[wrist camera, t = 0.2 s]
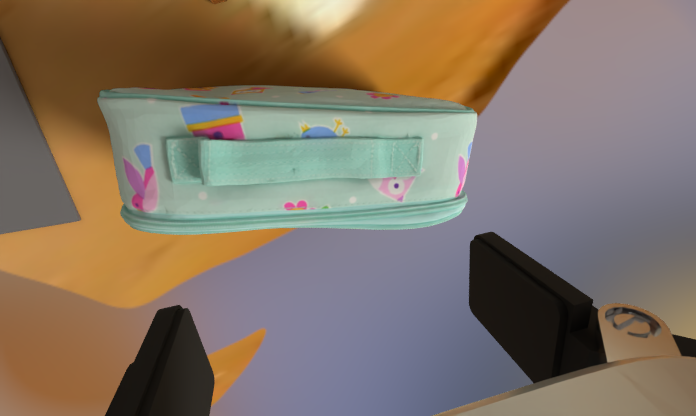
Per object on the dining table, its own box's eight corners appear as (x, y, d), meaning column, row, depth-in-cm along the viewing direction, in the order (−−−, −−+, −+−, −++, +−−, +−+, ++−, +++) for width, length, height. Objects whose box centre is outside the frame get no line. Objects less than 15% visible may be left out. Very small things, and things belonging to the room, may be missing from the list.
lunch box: (170, 179, 38) (71, 287, 19) (153, 82, 34) (8, 88, 15) (394, 171, 44) (498, 247, 24) (401, 87, 40) (529, 96, 21)
